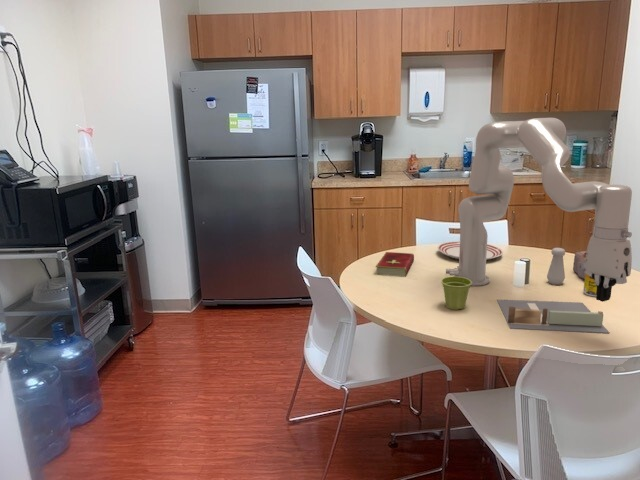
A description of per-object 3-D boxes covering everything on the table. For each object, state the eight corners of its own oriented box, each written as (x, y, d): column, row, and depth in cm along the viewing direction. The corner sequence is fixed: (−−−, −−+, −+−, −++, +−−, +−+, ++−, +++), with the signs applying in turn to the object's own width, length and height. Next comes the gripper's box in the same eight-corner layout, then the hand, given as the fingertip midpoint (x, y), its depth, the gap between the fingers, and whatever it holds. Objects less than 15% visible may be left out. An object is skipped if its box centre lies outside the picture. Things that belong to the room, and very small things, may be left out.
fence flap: (549, 323, 136) (550, 310, 135) (547, 321, 137) (549, 309, 136) (602, 326, 133) (603, 313, 132) (600, 324, 134) (602, 311, 133)
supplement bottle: (585, 296, 157) (588, 267, 154) (581, 290, 162) (584, 262, 159) (603, 297, 155) (607, 268, 152) (599, 292, 160) (603, 263, 157)
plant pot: (466, 314, 146) (467, 288, 143) (436, 308, 150) (437, 283, 148) (473, 304, 153) (475, 279, 151) (445, 299, 158) (446, 274, 156)
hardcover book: (414, 262, 200) (414, 252, 199) (406, 278, 181) (406, 267, 180) (386, 260, 204) (386, 251, 203) (375, 275, 185) (375, 265, 184)
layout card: (510, 328, 135) (510, 327, 135) (497, 300, 156) (497, 299, 156) (609, 333, 130) (609, 332, 130) (582, 303, 151) (582, 302, 151)
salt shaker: (566, 286, 166) (569, 251, 163) (548, 285, 167) (552, 250, 164) (561, 280, 172) (564, 246, 168) (544, 280, 173) (547, 246, 170)
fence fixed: (508, 324, 138) (509, 308, 137) (507, 321, 140) (508, 306, 138) (546, 325, 136) (548, 310, 135) (545, 323, 138) (546, 308, 136)
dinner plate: (498, 248, 217) (498, 241, 216) (507, 266, 191) (507, 258, 190) (437, 246, 223) (437, 239, 222) (437, 263, 197) (437, 256, 196)
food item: (607, 283, 168) (610, 257, 165) (583, 283, 169) (586, 257, 166) (590, 271, 181) (593, 246, 178) (568, 271, 182) (571, 246, 179)
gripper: (649, 236, 116) (640, 306, 121) (593, 226, 130) (587, 289, 134) (629, 240, 113) (620, 311, 118) (574, 229, 127) (568, 294, 131)
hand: (602, 299), depth 126 cm, fingers closed
